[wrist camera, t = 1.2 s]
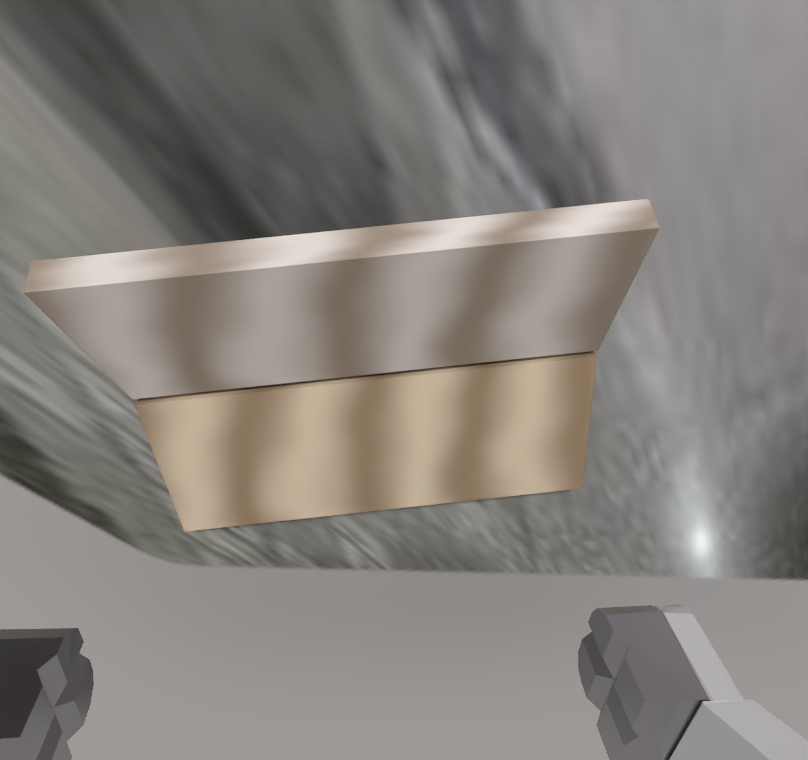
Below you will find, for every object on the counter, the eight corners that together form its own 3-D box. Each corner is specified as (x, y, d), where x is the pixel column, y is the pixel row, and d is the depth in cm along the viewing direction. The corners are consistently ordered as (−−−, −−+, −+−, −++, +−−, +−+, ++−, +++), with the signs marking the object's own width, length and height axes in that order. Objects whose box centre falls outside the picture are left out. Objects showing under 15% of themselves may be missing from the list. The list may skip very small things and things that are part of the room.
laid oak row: (587, 342, 35) (597, 356, 34) (575, 472, 40) (582, 488, 39) (143, 389, 35) (134, 405, 33) (190, 513, 40) (184, 531, 39)
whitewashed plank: (648, 199, 25) (659, 227, 24) (590, 326, 34) (597, 350, 33) (31, 261, 25) (23, 292, 24) (135, 373, 34) (132, 399, 33)
